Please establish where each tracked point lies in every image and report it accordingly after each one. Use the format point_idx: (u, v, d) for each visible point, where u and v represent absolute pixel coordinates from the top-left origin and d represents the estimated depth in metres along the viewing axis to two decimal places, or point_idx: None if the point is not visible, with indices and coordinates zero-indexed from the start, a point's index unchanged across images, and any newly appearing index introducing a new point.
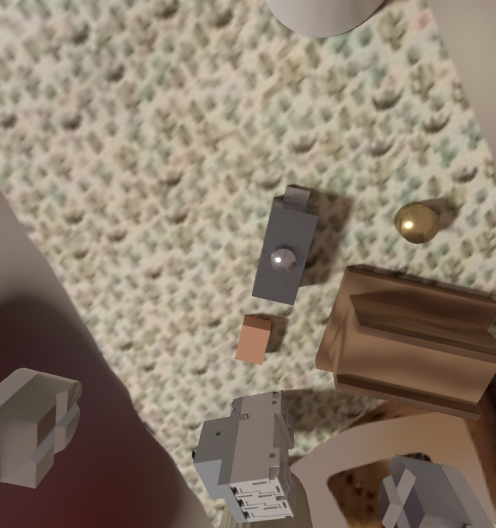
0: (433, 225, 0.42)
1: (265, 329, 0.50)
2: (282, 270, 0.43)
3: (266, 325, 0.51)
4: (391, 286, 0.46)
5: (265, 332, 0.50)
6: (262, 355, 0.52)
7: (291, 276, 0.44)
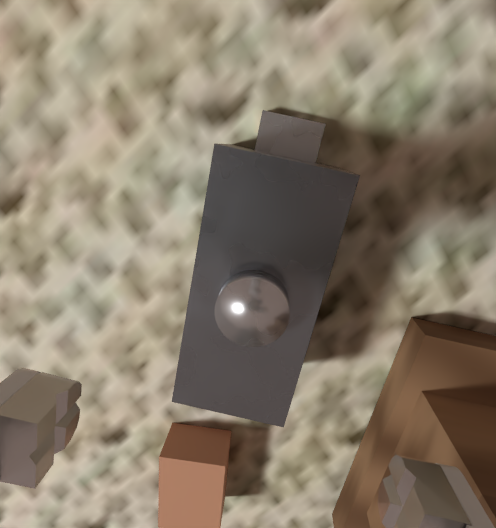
0: None
1: (214, 462, 0.21)
2: (249, 340, 0.14)
3: (217, 447, 0.22)
4: None
5: (213, 468, 0.21)
6: (216, 517, 0.22)
7: (277, 352, 0.16)
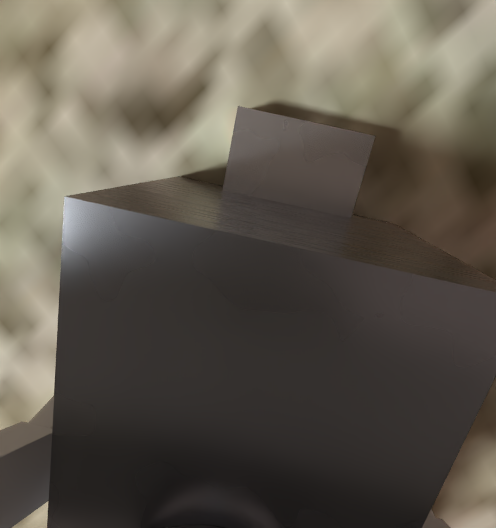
0: None
1: None
2: None
3: None
4: None
5: None
6: None
7: None
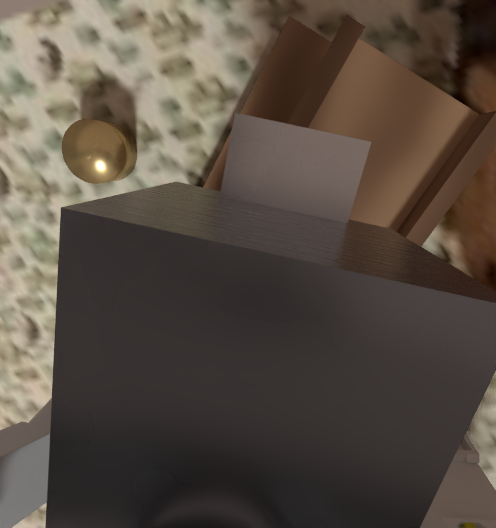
0: (93, 130, 0.25)
1: None
2: None
3: None
4: None
5: None
6: None
7: None
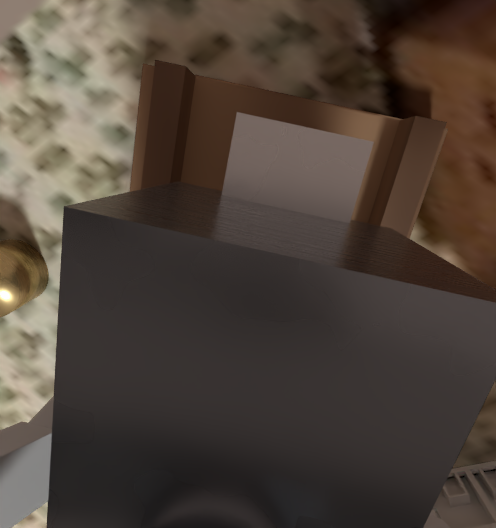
0: None
1: None
2: None
3: None
4: None
5: None
6: None
7: None
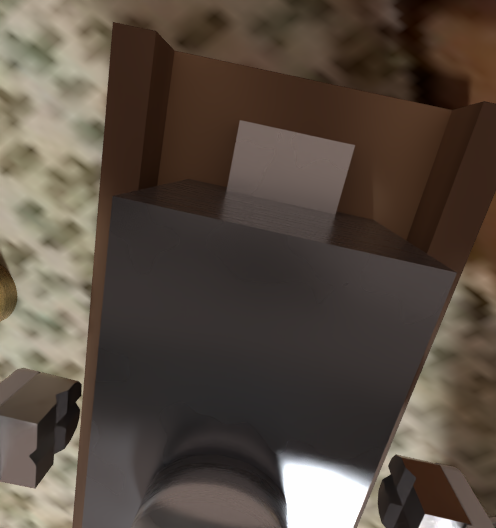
0: None
1: None
2: None
3: None
4: None
5: None
6: None
7: None
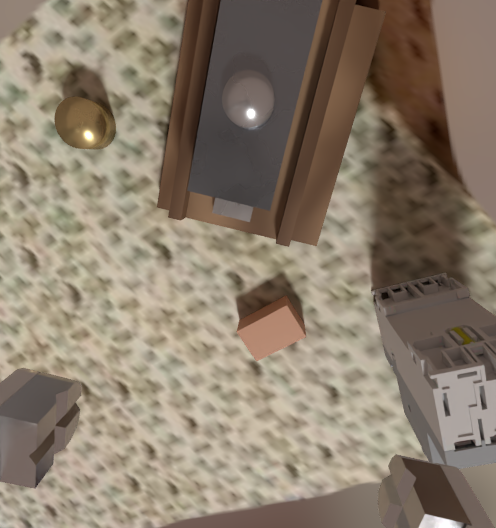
0: (75, 105, 0.32)
1: (240, 336, 0.37)
2: (246, 121, 0.20)
3: None
4: (173, 147, 0.33)
5: (242, 335, 0.37)
6: (273, 314, 0.36)
7: (265, 143, 0.22)
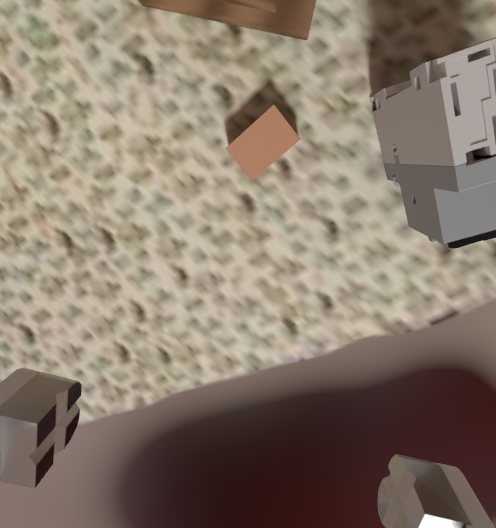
0: None
1: None
2: None
3: None
4: None
5: (232, 151, 0.34)
6: (261, 118, 0.33)
7: None
